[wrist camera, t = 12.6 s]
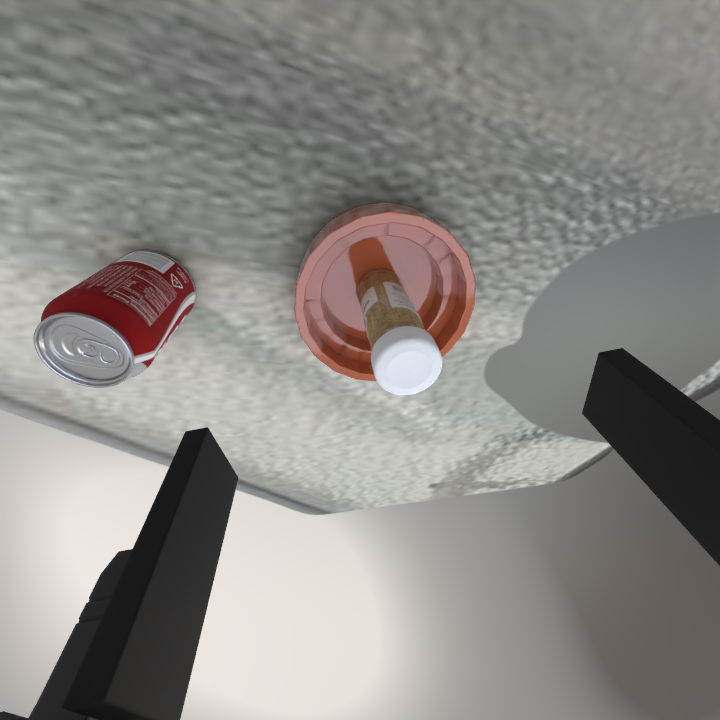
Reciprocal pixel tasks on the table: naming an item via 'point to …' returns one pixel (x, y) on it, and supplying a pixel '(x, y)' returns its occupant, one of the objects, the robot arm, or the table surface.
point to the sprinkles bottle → (396, 336)
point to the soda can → (115, 319)
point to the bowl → (374, 252)
